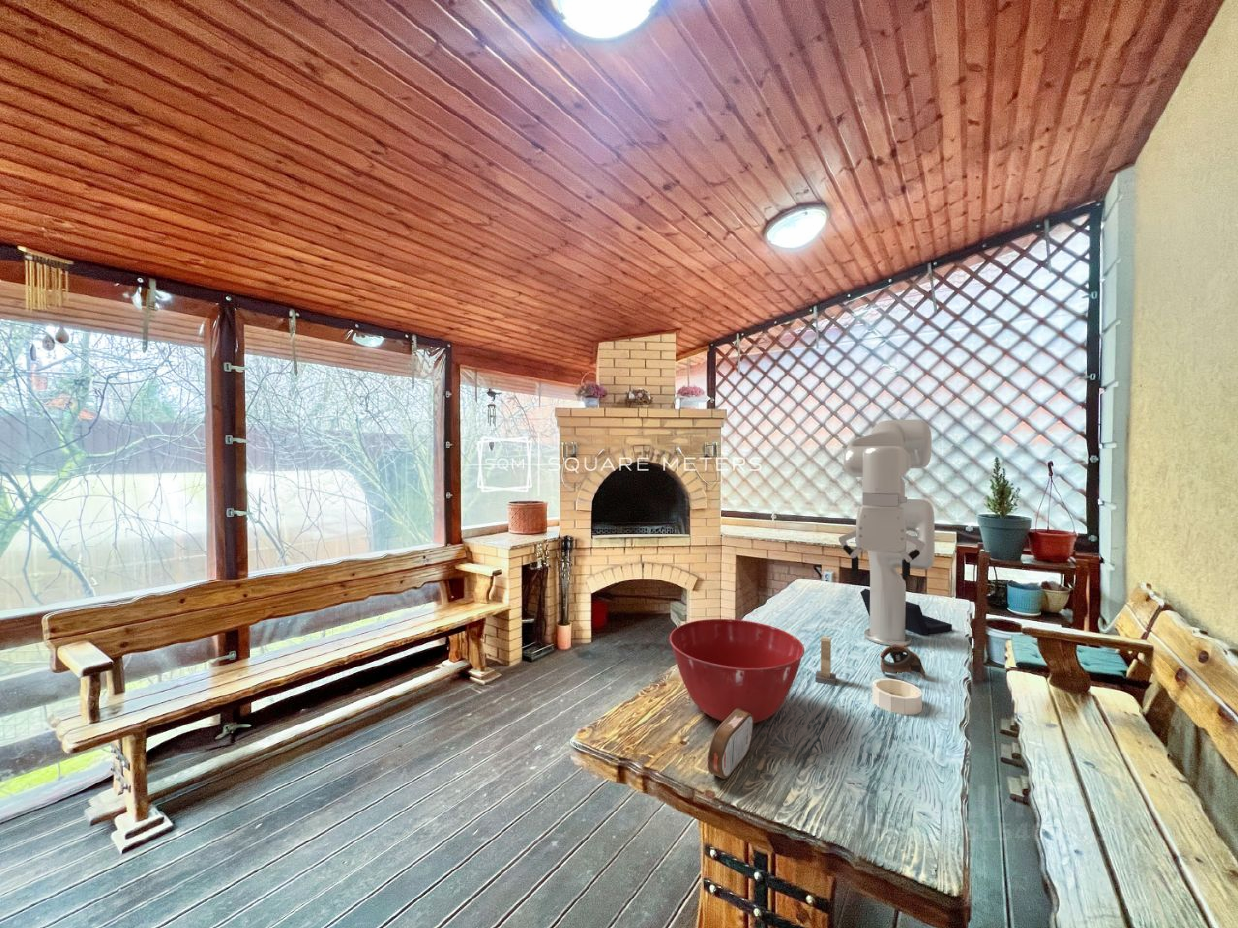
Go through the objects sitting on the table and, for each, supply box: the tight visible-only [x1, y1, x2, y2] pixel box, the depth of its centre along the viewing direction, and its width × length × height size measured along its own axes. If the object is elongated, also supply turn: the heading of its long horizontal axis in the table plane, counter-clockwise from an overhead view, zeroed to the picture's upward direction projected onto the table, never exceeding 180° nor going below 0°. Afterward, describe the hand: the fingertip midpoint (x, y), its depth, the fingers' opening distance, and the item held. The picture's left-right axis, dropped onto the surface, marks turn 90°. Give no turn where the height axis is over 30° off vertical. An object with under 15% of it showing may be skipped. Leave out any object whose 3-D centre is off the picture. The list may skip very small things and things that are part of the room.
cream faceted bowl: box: [871, 678, 923, 716], centre depth 114 cm, size 10×10×4 cm
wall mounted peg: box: [814, 636, 837, 686], centre depth 125 cm, size 4×4×10 cm
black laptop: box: [860, 588, 953, 637], centre depth 167 cm, size 21×16×10 cm
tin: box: [707, 708, 754, 780], centre depth 91 cm, size 15×3×8 cm, turn 144°
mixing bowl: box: [669, 618, 805, 725], centre depth 111 cm, size 28×28×16 cm
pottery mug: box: [880, 644, 926, 680], centre depth 129 cm, size 12×9×8 cm
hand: (880, 576), depth 115 cm, fingers open, 9 cm apart
